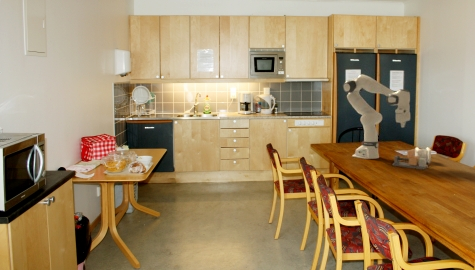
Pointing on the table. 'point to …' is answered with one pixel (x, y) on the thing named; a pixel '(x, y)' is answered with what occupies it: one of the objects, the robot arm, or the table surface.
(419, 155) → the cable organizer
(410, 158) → the orange piece
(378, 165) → the table surface
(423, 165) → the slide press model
